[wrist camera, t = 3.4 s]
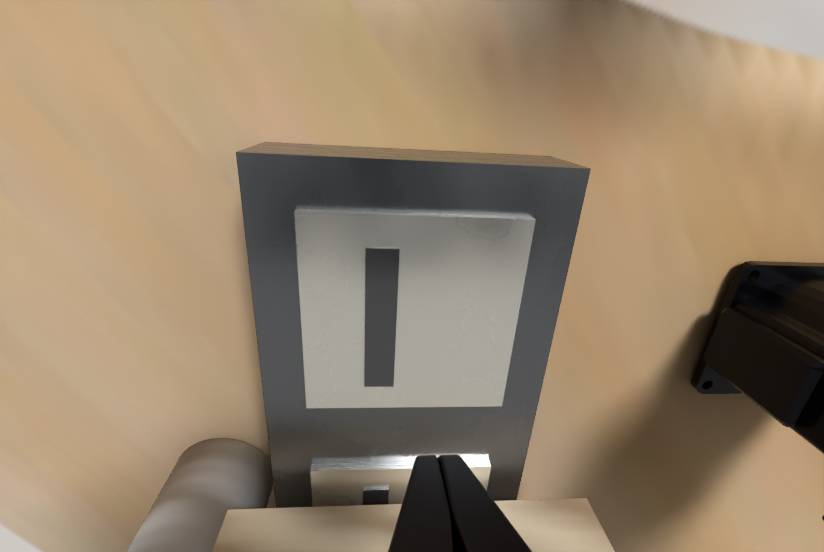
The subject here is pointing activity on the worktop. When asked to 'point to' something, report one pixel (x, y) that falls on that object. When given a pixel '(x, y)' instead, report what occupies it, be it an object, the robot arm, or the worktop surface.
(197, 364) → the worktop surface
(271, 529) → the notched beige block
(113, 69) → the worktop surface
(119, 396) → the worktop surface
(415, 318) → the slab
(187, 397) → the worktop surface
